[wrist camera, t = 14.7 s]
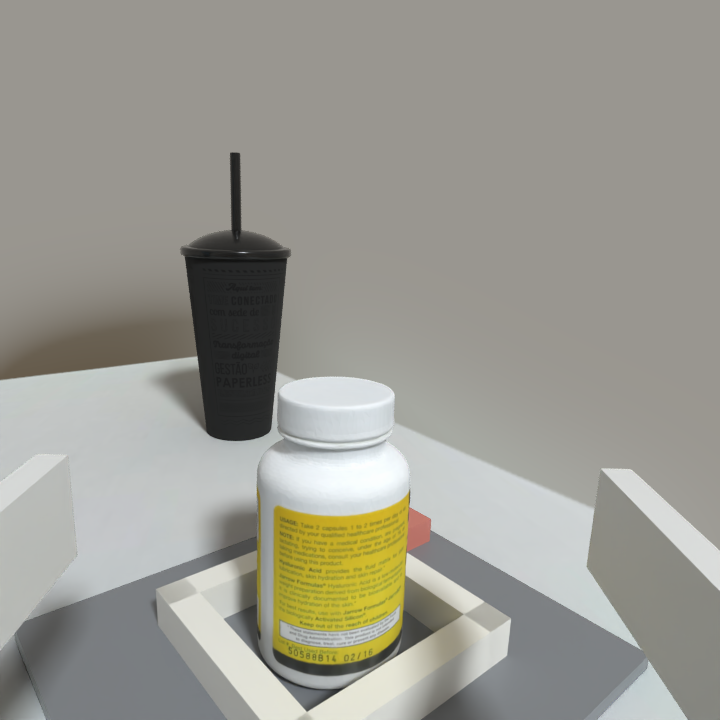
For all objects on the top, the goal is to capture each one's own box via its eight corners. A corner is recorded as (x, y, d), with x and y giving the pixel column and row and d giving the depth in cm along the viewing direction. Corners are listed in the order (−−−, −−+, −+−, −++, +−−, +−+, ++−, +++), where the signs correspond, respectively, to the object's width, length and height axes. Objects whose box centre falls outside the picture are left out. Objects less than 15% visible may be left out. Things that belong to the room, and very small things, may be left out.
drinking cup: (253, 456, 40) (249, 145, 35) (165, 436, 43) (151, 147, 38) (308, 422, 47) (311, 158, 42) (228, 407, 50) (223, 158, 45)
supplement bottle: (432, 656, 22) (449, 399, 19) (300, 721, 19) (303, 426, 16) (351, 581, 26) (358, 364, 24) (234, 624, 23) (229, 381, 21)
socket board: (15, 639, 23) (8, 588, 22) (368, 504, 34) (370, 469, 33) (202, 1120, 11) (198, 1037, 10) (646, 668, 22) (655, 617, 22)
